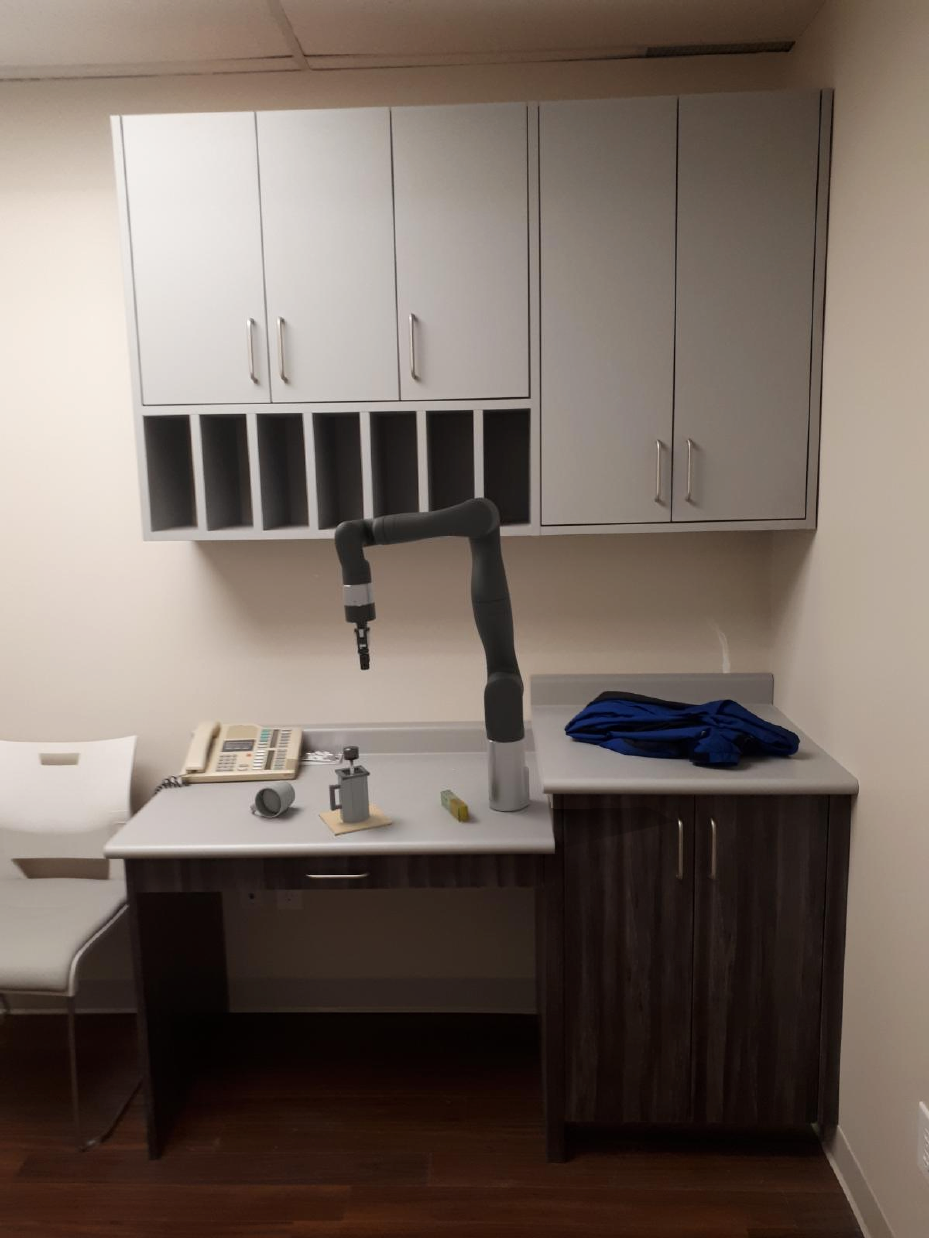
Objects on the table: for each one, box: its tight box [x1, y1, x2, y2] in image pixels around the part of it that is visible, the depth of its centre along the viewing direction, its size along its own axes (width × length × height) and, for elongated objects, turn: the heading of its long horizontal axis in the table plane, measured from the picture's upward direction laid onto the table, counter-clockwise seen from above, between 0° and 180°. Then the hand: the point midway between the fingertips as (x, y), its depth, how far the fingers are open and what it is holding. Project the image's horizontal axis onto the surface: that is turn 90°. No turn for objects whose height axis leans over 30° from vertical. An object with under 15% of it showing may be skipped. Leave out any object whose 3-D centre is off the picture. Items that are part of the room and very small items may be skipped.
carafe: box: [318, 764, 393, 836], centre depth 215 cm, size 14×14×12 cm
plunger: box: [342, 745, 360, 775], centre depth 214 cm, size 4×4×14 cm
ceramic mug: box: [249, 780, 296, 819], centre depth 223 cm, size 11×8×8 cm
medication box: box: [440, 789, 470, 823], centre depth 218 cm, size 12×3×4 cm, turn 22°
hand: (365, 666), depth 224 cm, fingers open, 8 cm apart
